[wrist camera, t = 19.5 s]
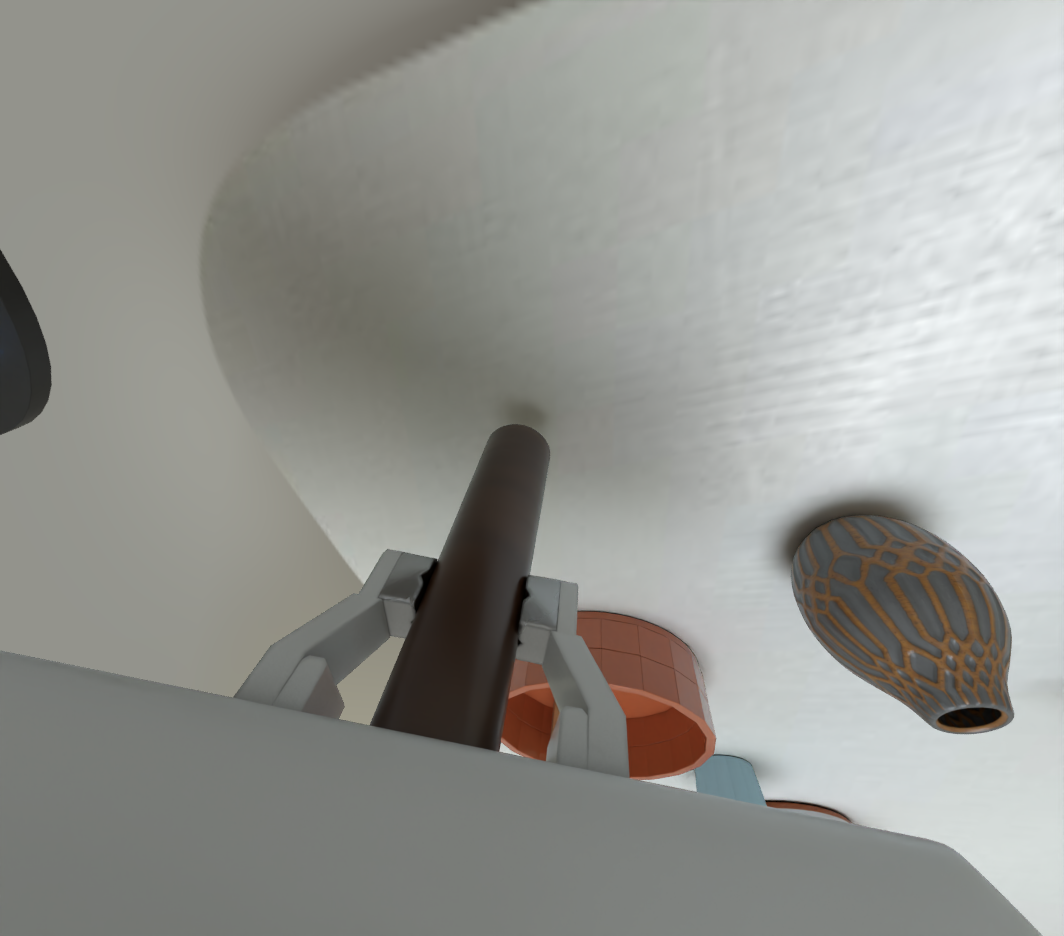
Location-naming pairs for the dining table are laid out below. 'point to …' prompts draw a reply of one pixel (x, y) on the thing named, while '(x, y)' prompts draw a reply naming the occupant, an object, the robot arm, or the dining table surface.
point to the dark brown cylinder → (473, 603)
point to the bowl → (626, 697)
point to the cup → (729, 779)
